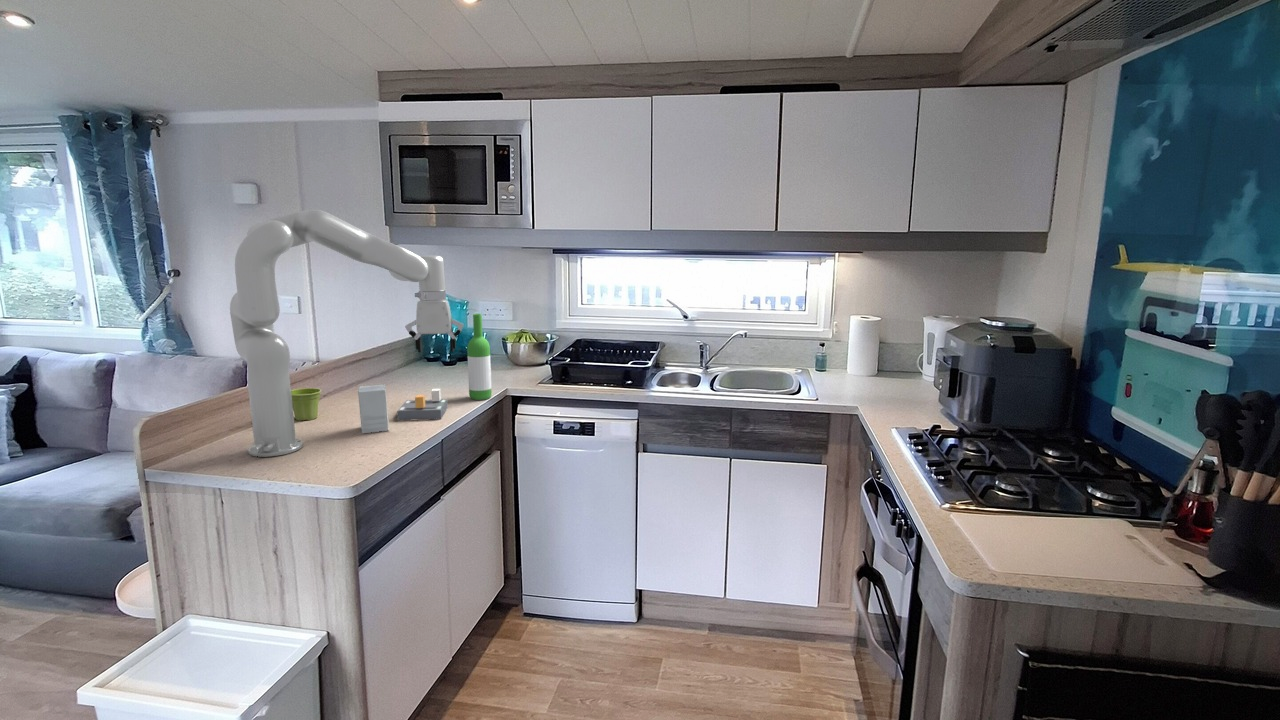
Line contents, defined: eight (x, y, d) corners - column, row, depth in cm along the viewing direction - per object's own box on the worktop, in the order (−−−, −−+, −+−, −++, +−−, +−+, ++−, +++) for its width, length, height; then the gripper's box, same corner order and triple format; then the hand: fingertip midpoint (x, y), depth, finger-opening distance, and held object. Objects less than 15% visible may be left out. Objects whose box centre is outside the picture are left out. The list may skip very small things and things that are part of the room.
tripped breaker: (423, 407, 194) (422, 397, 194) (415, 408, 194) (414, 397, 193) (425, 405, 197) (424, 394, 197) (417, 405, 197) (416, 394, 196)
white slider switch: (439, 401, 203) (438, 390, 202) (431, 401, 202) (431, 390, 202) (441, 398, 205) (440, 388, 205) (433, 399, 205) (432, 388, 204)
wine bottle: (469, 401, 216) (466, 315, 210) (468, 396, 223) (465, 313, 218) (492, 399, 219) (489, 315, 213) (490, 394, 226) (487, 312, 220)
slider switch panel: (441, 419, 195) (440, 409, 194) (397, 420, 193) (397, 410, 192) (447, 408, 207) (447, 399, 207) (407, 409, 206) (406, 400, 205)
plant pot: (307, 412, 200) (304, 386, 198) (330, 415, 197) (328, 389, 196) (282, 420, 191) (279, 393, 190) (306, 423, 188) (304, 396, 187)
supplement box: (388, 424, 189) (386, 384, 186) (388, 431, 182) (385, 389, 180) (362, 426, 186) (359, 385, 184) (361, 434, 179) (357, 391, 177)
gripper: (400, 298, 185) (404, 354, 188) (460, 297, 187) (463, 352, 191) (406, 295, 192) (410, 349, 195) (463, 294, 195) (466, 348, 198)
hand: (436, 351), depth 193 cm, fingers open, 9 cm apart
